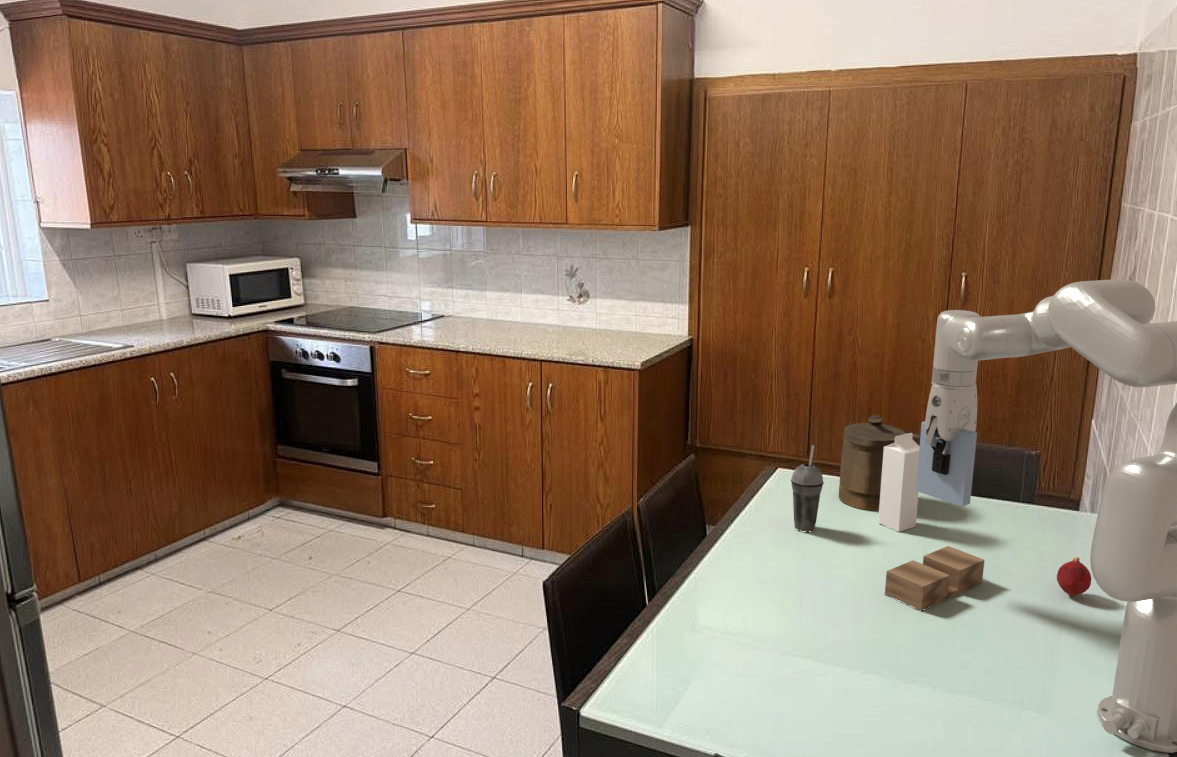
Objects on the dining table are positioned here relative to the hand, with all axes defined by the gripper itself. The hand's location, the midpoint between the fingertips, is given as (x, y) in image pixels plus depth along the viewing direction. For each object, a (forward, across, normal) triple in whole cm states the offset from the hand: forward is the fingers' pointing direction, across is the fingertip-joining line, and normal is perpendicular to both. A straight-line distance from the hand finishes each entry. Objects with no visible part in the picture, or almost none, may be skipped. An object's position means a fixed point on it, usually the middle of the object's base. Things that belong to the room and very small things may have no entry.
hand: (944, 470), depth 163 cm
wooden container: (+25, +29, +38) cm, 54 cm away
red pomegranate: (+25, +19, -17) cm, 36 cm away
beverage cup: (+25, +2, +35) cm, 43 cm away
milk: (+25, +21, +24) cm, 40 cm away
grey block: (+5, 0, 0) cm, 5 cm away
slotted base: (+25, 0, 0) cm, 25 cm away
